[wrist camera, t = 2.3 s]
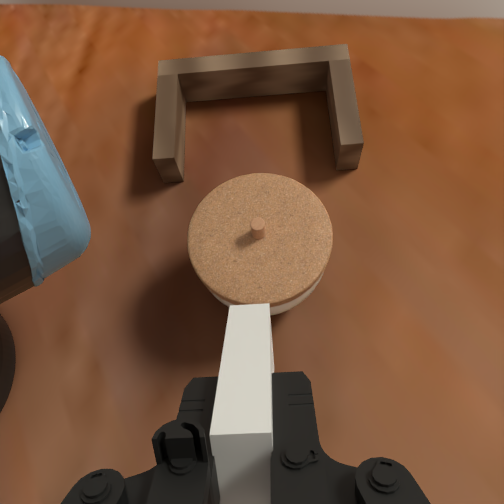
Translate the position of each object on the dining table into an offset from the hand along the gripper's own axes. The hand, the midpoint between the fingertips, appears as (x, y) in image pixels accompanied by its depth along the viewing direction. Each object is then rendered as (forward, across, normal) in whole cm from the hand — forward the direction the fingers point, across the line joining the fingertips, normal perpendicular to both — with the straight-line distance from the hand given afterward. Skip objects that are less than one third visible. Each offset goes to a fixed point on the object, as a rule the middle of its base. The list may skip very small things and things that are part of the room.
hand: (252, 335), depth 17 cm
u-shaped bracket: (+33, 0, +5) cm, 34 cm away
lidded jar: (+21, 0, -7) cm, 23 cm away
